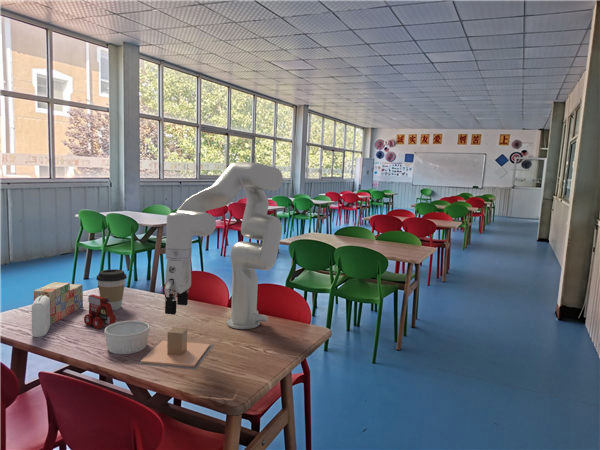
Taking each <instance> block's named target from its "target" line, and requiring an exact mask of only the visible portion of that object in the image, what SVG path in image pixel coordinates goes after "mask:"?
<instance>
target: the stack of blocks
mask: <svg viewBox="0 0 600 450" xmlns="http://www.w3.org/2000/svg"><path fill="white" fill-rule="evenodd" d="M44 295H45V296H47V297H48V298H49V299H50V325H52V324H54V323H56V322H58V321H60V320H61V319H63V318H65V317H67V316H69V315H70V314H72V313H73V312H75V311H77V310H79V309H81V308H83V306H84V296H83V295H84V292H83V284H74V283H70V282H57V281H56V282H55V281H54V282H51V283H49V284H46V285H45V286H41V287H40V288H36V289H34V290H33V302H34V301H35V299H36V298H37V297H39V296H44Z"/></svg>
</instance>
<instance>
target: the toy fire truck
mask: <svg viewBox="0 0 600 450" xmlns="http://www.w3.org/2000/svg"><path fill="white" fill-rule="evenodd" d="M87 298H88V301H87V302H88V303H89V304H88V313H87V314H85V315H84V317H83V322H84V324H85V325H86V326H93V327H94V329H96V330H99V329H101V328H103V326H104V325H107V326H109V325H111V324H114V323H117V317H116V315H115V314H114V310H112V307H111V304H110V303H108V302H109V299H108V298H103V297H100V295H96V294H90V295H89V296H88V297H87Z"/></svg>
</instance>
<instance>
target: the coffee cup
mask: <svg viewBox="0 0 600 450" xmlns="http://www.w3.org/2000/svg"><path fill="white" fill-rule="evenodd" d="M127 278H128V277H127V274H126V273H125V271H124V270H123V269H117V268H115V269H114V268H113V269H111V268H110V269H105V270H100V271H99V272H98V274H97V275H96V279H95V280H97V284H98V293H99V296H100V297H103V298H108V299H109V302H108V303H110V304H111V307H112V310H113V311H117V310H120V309H121V308H122V305H123V298H124V290H125V283H126V279H127Z"/></svg>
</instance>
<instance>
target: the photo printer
mask: <svg viewBox="0 0 600 450" xmlns="http://www.w3.org/2000/svg"><path fill="white" fill-rule="evenodd" d="M50 329H51V324H50V299H49V298H48V297H47V296H45V295H44V296H39V297H37V298H36V299H35V301H34V300H33V302H32V305H31V335H32V337H33V338H42V337H45V336H46V335H47V334H48V332H49V330H50Z"/></svg>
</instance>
